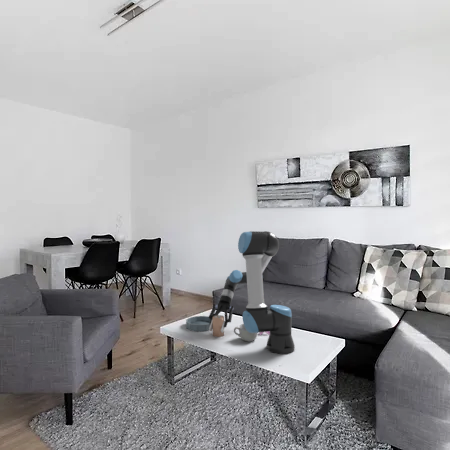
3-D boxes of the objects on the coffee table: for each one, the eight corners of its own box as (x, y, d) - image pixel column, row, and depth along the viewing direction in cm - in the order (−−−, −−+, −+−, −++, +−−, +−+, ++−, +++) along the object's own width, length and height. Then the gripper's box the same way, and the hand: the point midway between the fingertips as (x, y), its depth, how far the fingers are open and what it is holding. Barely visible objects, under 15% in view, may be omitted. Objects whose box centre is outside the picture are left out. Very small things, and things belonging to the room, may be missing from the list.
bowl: (219, 323, 229) (219, 318, 229) (207, 332, 212) (207, 326, 212) (194, 320, 237) (194, 314, 236) (180, 328, 219) (180, 322, 219)
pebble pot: (225, 333, 210) (225, 314, 210) (221, 337, 204) (221, 318, 203) (215, 332, 213) (215, 313, 213) (210, 335, 207) (210, 316, 206)
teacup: (257, 336, 205) (257, 323, 205) (257, 343, 194) (257, 329, 194) (234, 336, 207) (234, 322, 206) (233, 342, 196) (233, 328, 196)
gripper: (242, 302, 218) (232, 336, 204) (214, 299, 226) (203, 331, 211) (239, 296, 213) (229, 330, 199) (210, 293, 221) (199, 325, 206)
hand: (216, 330), depth 205 cm, fingers closed on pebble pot, 7 cm apart
